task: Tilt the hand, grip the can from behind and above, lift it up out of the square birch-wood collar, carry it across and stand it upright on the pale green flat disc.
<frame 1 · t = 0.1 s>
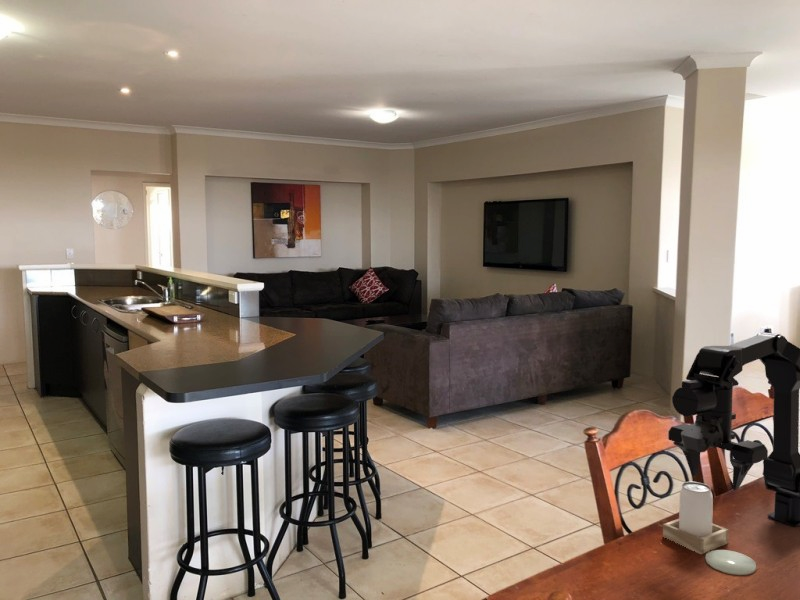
hand: (714, 482, 134), 15 cm above the table, tool pointing down, fingers open, 9 cm apart
pale green flat disc: (730, 563, 130), on the table
holder: (695, 540, 140), on the table
can: (695, 541, 140), resting in holder
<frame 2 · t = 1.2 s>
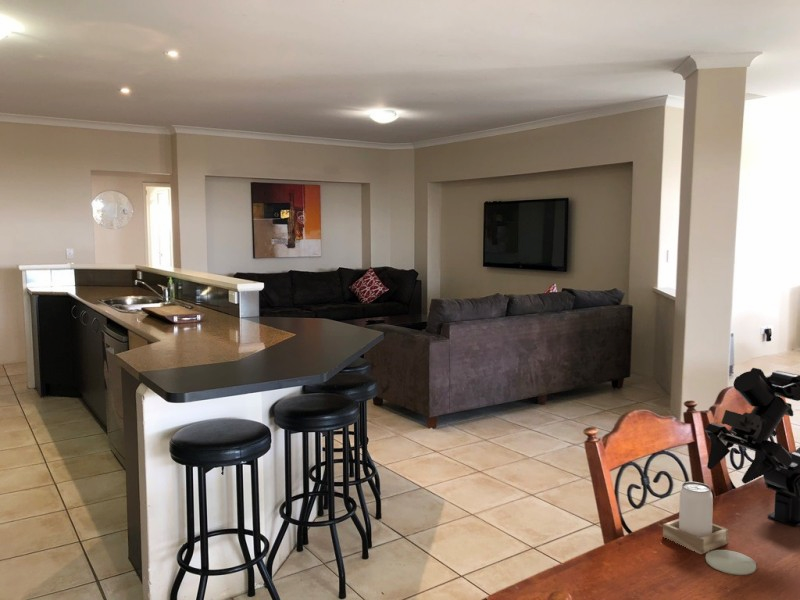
hand: (725, 475, 141), 13 cm above the table, tool tilted 45°, fingers open, 9 cm apart
nothing on the table moved.
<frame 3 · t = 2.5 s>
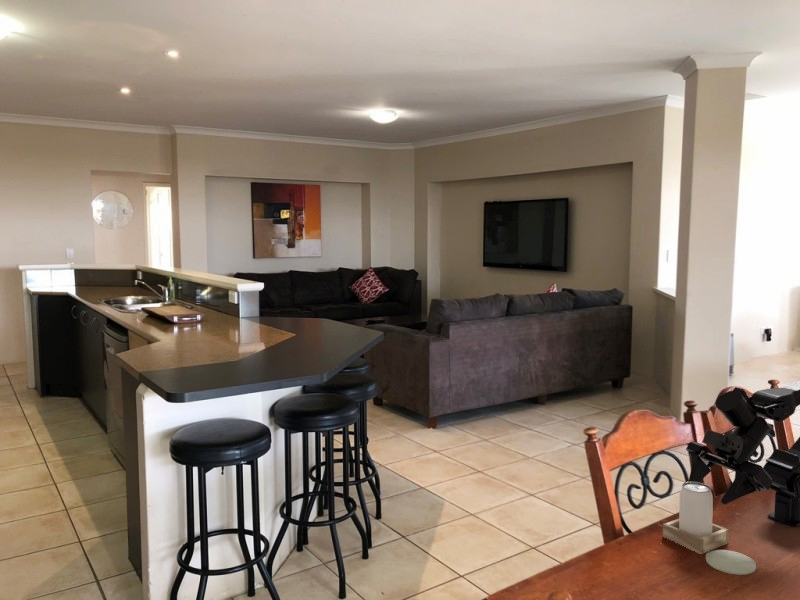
hand: (705, 495, 140), 10 cm above the table, tool tilted 45°, fingers open, 9 cm apart
nothing on the table moved.
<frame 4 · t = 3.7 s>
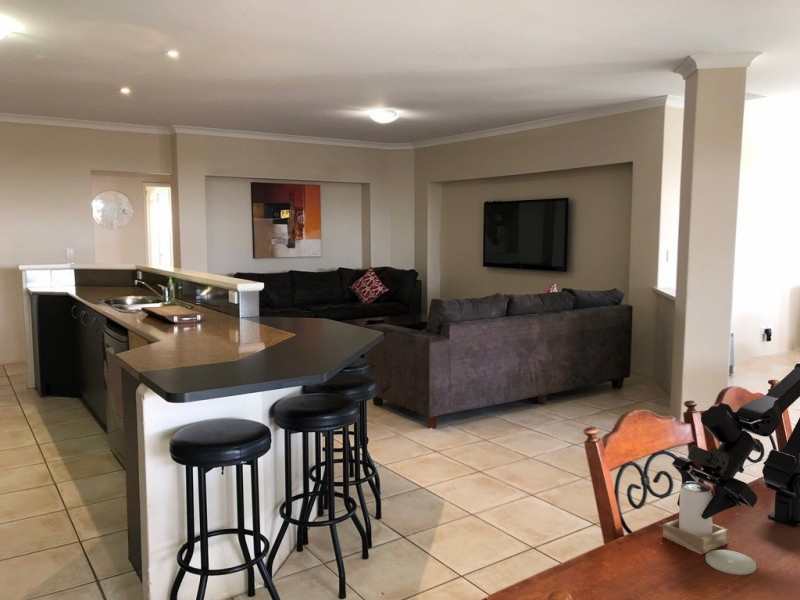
hand: (690, 511, 139), 7 cm above the table, tool tilted 45°, fingers open, 6 cm apart
can: (695, 541, 140), resting in holder, touching gripper
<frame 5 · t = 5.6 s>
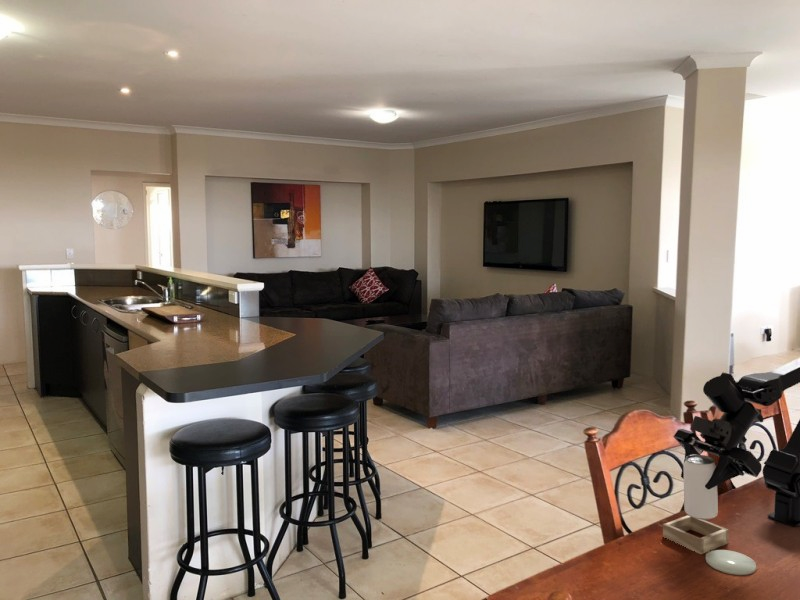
hand: (694, 483, 137), 13 cm above the table, tool tilted 45°, fingers closed on can, 6 cm apart
can: (700, 514, 138), point 6 cm above the table, touching gripper
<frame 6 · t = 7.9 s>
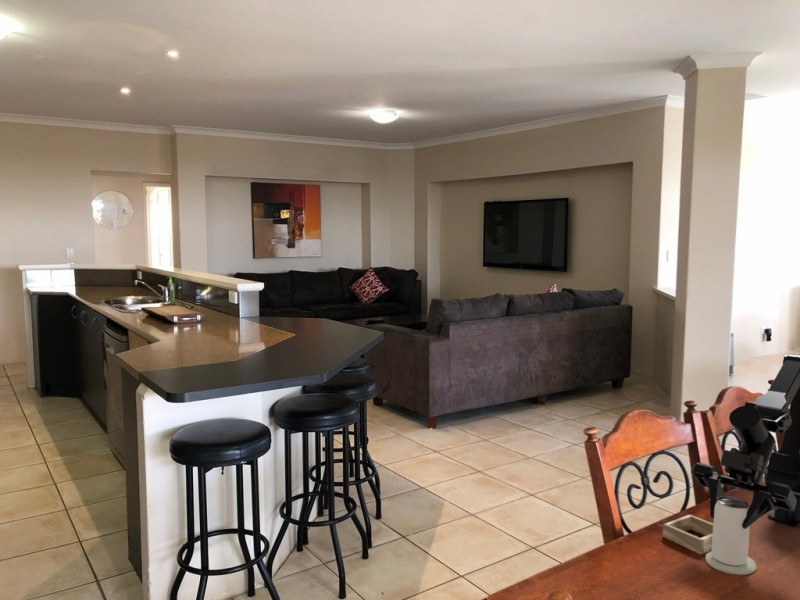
hand: (727, 522, 128), 9 cm above the table, tool tilted 45°, fingers closed on can, 6 cm apart
can: (728, 559, 130), point 1 cm above the table, touching pale green flat disc, gripper
when the fingers open (9 cm above the table, at t = 7.9 s): can stays where it is, resting on pale green flat disc.
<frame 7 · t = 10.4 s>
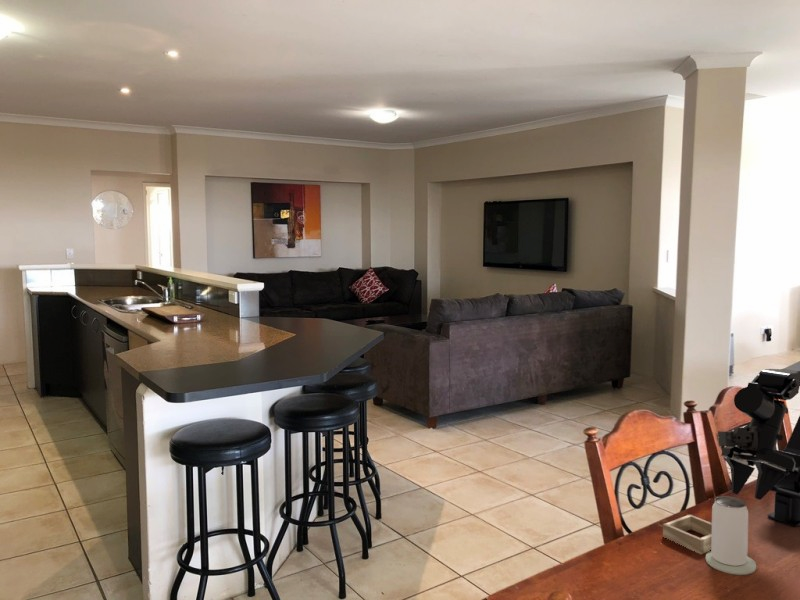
hand: (745, 496, 137), 10 cm above the table, tool tilted 25°, fingers open, 9 cm apart
can: (728, 560, 130), resting on pale green flat disc
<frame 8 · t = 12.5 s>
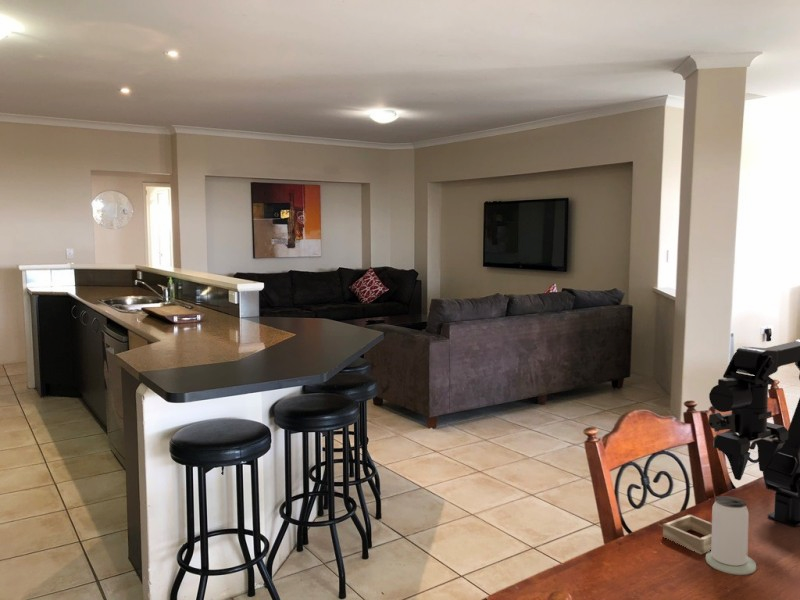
hand: (750, 475, 142), 13 cm above the table, tool pointing down, fingers open, 9 cm apart
nothing on the table moved.
at the end: can 0.4 cm off-centre on the pale green flat disc, point 0.4 cm above the pale green flat disc's base; can tilted 0°; the gripper is holding nothing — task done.
